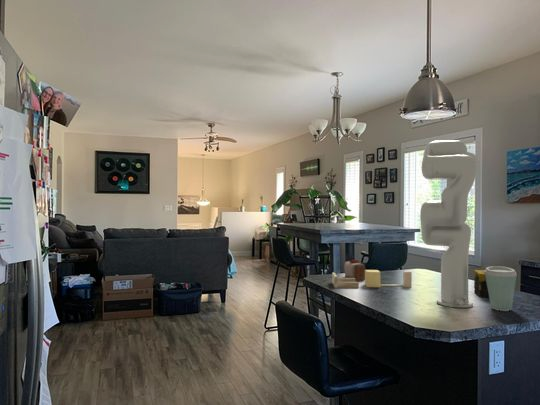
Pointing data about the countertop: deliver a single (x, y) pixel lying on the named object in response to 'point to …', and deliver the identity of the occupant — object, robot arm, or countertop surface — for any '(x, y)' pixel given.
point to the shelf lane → (344, 282)
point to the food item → (355, 270)
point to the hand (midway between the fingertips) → (455, 227)
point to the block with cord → (374, 281)
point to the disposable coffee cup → (500, 287)
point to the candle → (480, 283)
